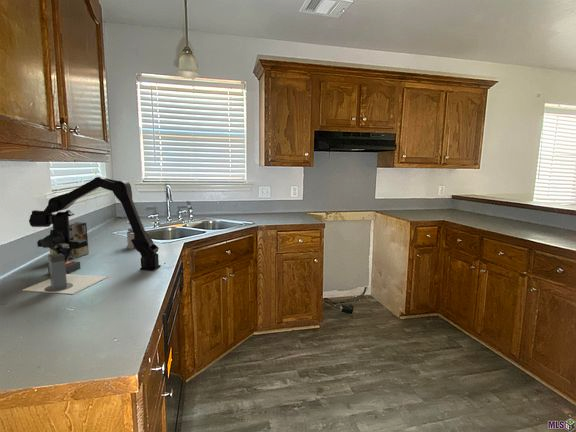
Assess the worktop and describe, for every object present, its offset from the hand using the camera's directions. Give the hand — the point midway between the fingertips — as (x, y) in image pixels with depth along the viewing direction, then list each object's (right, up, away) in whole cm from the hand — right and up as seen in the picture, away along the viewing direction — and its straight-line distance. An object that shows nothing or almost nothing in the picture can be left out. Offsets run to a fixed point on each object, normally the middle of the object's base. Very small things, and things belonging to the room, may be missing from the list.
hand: (64, 262), depth 138 cm
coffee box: (-10, 0, +24) cm, 26 cm away
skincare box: (-11, -1, +14) cm, 18 cm away
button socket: (0, -3, +1) cm, 3 cm away
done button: (0, -3, 0) cm, 3 cm away
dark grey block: (+11, -6, -19) cm, 23 cm away
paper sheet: (+11, -6, -14) cm, 19 cm away
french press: (+10, +3, +45) cm, 46 cm away
